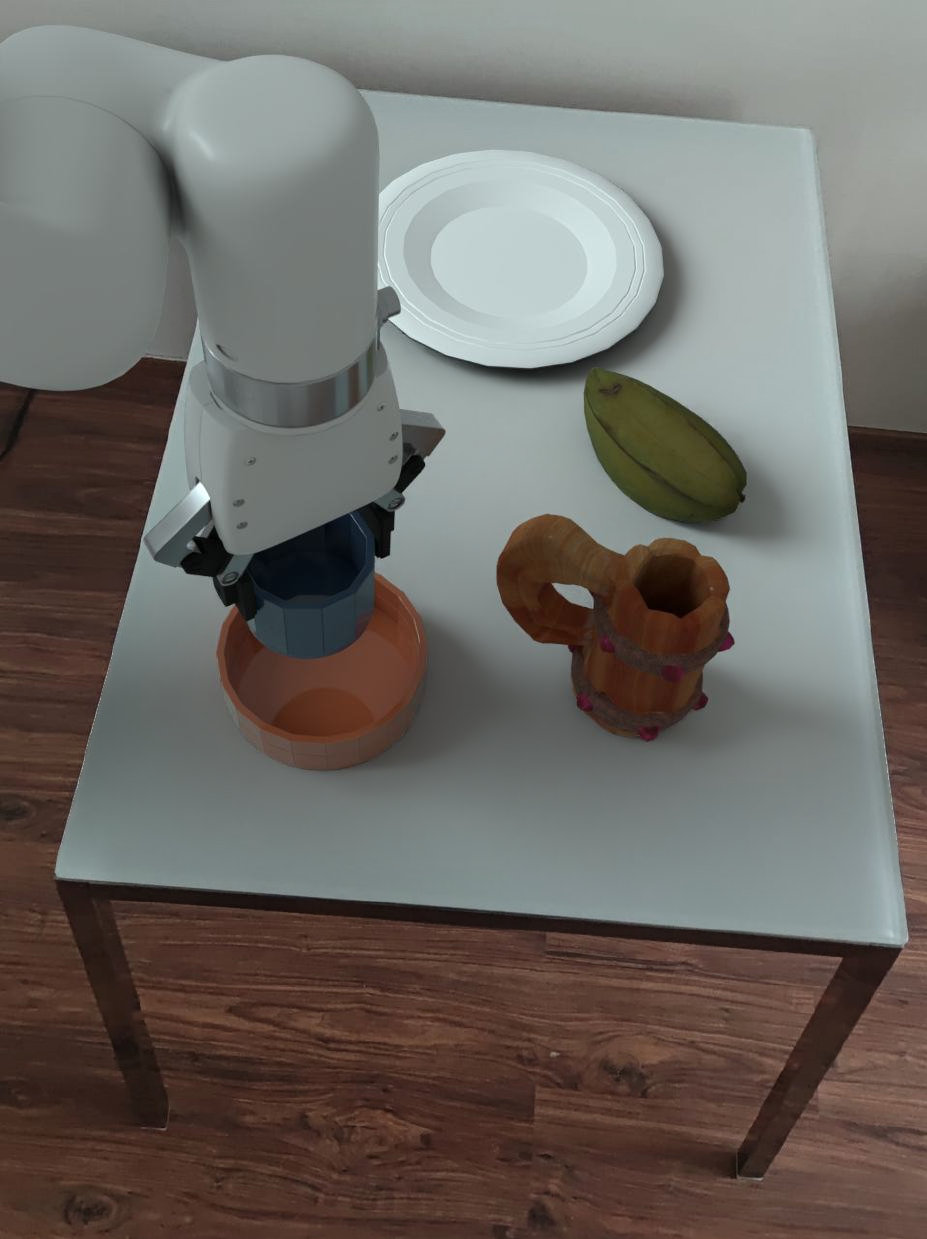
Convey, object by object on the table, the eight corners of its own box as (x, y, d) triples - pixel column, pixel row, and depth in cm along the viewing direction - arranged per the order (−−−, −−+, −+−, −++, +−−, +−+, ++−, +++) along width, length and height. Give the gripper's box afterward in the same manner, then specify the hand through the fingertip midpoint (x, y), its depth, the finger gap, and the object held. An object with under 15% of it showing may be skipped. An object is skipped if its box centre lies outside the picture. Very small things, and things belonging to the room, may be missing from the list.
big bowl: (282, 806, 75) (277, 780, 71) (190, 647, 80) (182, 615, 77) (462, 710, 79) (465, 681, 75) (363, 564, 84) (362, 531, 81)
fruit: (578, 534, 86) (591, 477, 81) (576, 405, 92) (588, 343, 87) (738, 544, 87) (762, 488, 81) (725, 414, 93) (747, 353, 87)
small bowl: (280, 681, 68) (274, 631, 64) (220, 581, 72) (211, 527, 67) (397, 624, 71) (400, 572, 66) (334, 530, 74) (333, 474, 69)
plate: (325, 356, 94) (324, 338, 92) (387, 147, 106) (387, 128, 105) (647, 406, 93) (652, 389, 91) (670, 189, 106) (675, 171, 104)
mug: (716, 676, 81) (777, 549, 68) (675, 778, 77) (731, 663, 64) (515, 592, 84) (537, 455, 71) (465, 687, 80) (479, 559, 67)
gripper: (418, 231, 57) (406, 463, 72) (66, 361, 52) (133, 584, 67) (504, 335, 54) (473, 555, 69) (140, 485, 49) (192, 689, 64)
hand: (306, 568), depth 68 cm, fingers closed on small bowl, 7 cm apart
